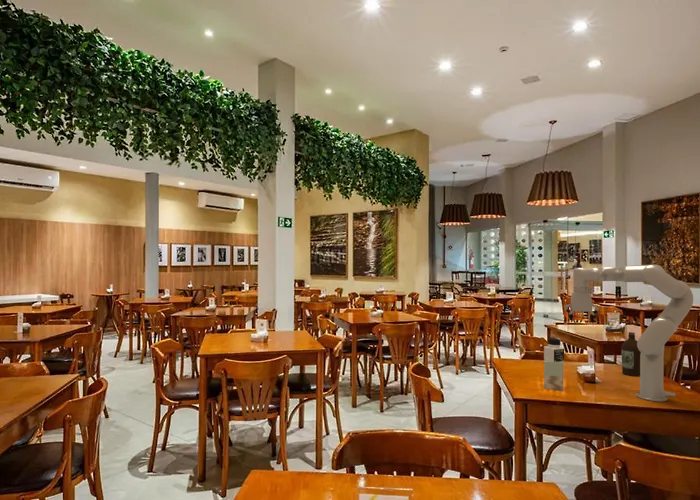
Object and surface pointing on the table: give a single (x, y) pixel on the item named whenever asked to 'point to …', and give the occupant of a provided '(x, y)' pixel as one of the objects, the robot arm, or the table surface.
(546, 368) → the top block
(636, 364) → the olive oil
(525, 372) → the table surface
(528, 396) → the table surface
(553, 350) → the medicine bottle
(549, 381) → the bottom block
